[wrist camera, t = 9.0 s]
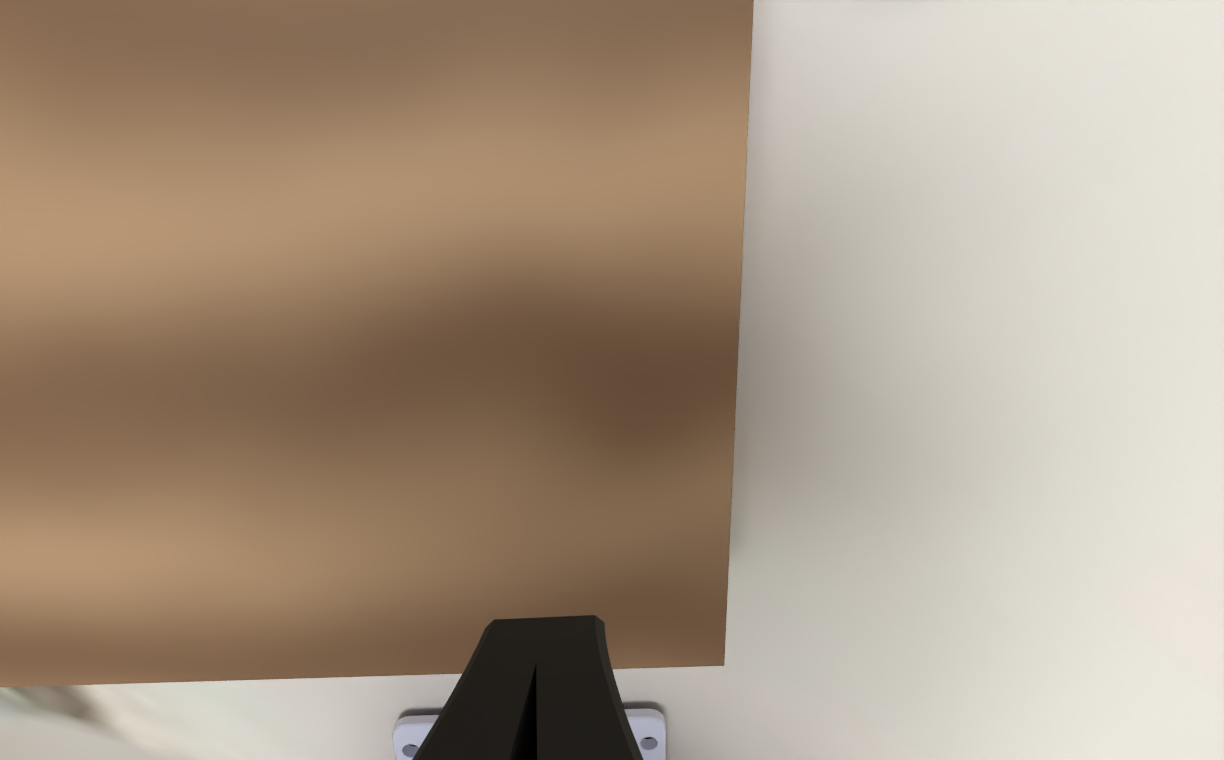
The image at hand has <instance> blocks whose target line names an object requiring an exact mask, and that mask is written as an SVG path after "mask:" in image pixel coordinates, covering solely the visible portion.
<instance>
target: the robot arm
mask: <svg viewBox="0 0 1224 760" xmlns="http://www.w3.org/2000/svg"><path fill="white" fill-rule="evenodd" d="M645 737H654V738H652V739H643V738H645ZM392 738H393V744H394V750H395V756H396V760H666V726H665V719H664V716H663V715H662V714H661V712H659V711H657V710H655V709H624V707H623V704H622V701H621V698H620V694H619V691H618V688H617V685H616V681H615V678H614V675H613V671H612V667H611V663H610V659H609V654H608V649H607V643H606V636H605V622H603V621H602V620H601V619H600V618H598V617H597V616H596V615H582V616H560V617H538V618H516V619H494V620H493V621H492V622H491V623H490V624H489V625H488V626H487V627H485V630H484V632H483V634H482V636H481V638H480V640H479V643H478V645H477V647H476V649H475V651H474V653H473V655H472V657H471V659H470V661H469V663H468V664H467V666H466V668H465V670H464V672H463V674H462V676H461V678H460V679H459V681H458V683H457V685H456V687H455V688H454V690H453V692H452V694H451V696H450V697H449V699H448V701H447V703H446V704H445V706H444V708H443V710H442V711H441V713H440V715H419V716H406V717H402V718H401V719H399V720H398V721H397V722H396V724H395V727H394V730H393V736H392ZM408 744H413V745H416V747H414V746H410V745H408Z"/></svg>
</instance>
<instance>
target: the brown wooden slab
mask: <svg viewBox="0 0 1224 760" xmlns="http://www.w3.org/2000/svg"><path fill="white" fill-rule="evenodd" d="M753 1H754V0H0V687H26V686H60V685H93V684H127V683H160V682H193V681H227V680H260V679H294V678H327V677H360V676H394V675H427V674H461V673H463V672H464V670H465V668H466V666H467V664H468V663H469V661H470V659H471V657H472V655H473V653H474V651H475V649H476V647H477V645H478V643H479V640H480V638H481V636H482V634H483V632H484V630H485V627H487V626H488V625H489V624H490V623H491V622H492V621H493V620H494V619H516V618H538V617H560V616H582V615H596V616H597V617H598V618H600V619H601V620H602V621H603V622H605V636H606V643H607V649H608V654H609V659H610V663H611V667H612V669H628V668H661V667H694V666H724V658H725V635H726V612H727V590H728V567H729V544H730V522H731V499H732V476H733V454H734V431H735V409H736V386H737V363H738V341H739V318H740V295H741V273H742V250H743V227H744V205H745V182H746V159H747V137H748V114H749V91H750V69H751V46H752V24H753Z"/></svg>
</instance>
